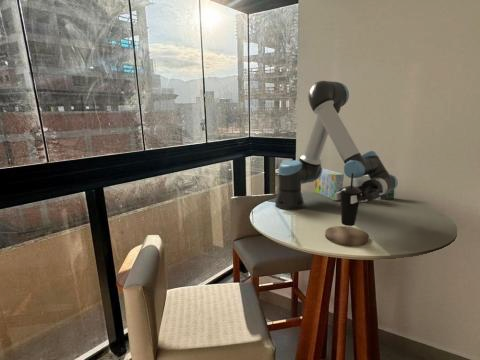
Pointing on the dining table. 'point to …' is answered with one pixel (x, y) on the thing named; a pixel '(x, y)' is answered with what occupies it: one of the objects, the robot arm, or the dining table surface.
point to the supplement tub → (360, 182)
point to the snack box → (329, 183)
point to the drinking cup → (349, 204)
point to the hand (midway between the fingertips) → (343, 198)
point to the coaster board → (346, 236)
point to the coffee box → (388, 195)
